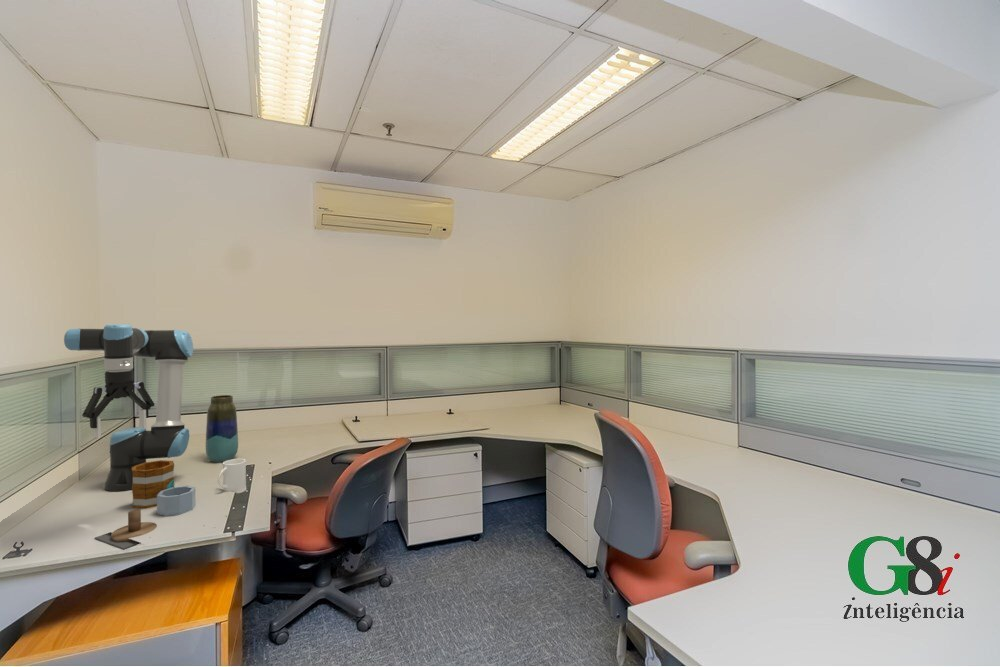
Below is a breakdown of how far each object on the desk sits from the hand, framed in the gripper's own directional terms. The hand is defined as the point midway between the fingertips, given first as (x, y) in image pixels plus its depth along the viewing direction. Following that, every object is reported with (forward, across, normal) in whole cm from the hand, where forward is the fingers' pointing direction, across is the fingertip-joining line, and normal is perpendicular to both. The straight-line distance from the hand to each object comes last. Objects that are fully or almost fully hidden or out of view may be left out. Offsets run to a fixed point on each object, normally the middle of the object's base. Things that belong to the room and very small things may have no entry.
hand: (121, 432), depth 159 cm
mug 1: (+31, +14, +6) cm, 35 cm away
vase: (+33, +61, +34) cm, 77 cm away
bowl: (+31, +11, -11) cm, 34 cm away
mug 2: (+31, +33, -9) cm, 47 cm away
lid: (+30, -5, -15) cm, 34 cm away
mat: (+30, -5, -15) cm, 34 cm away
